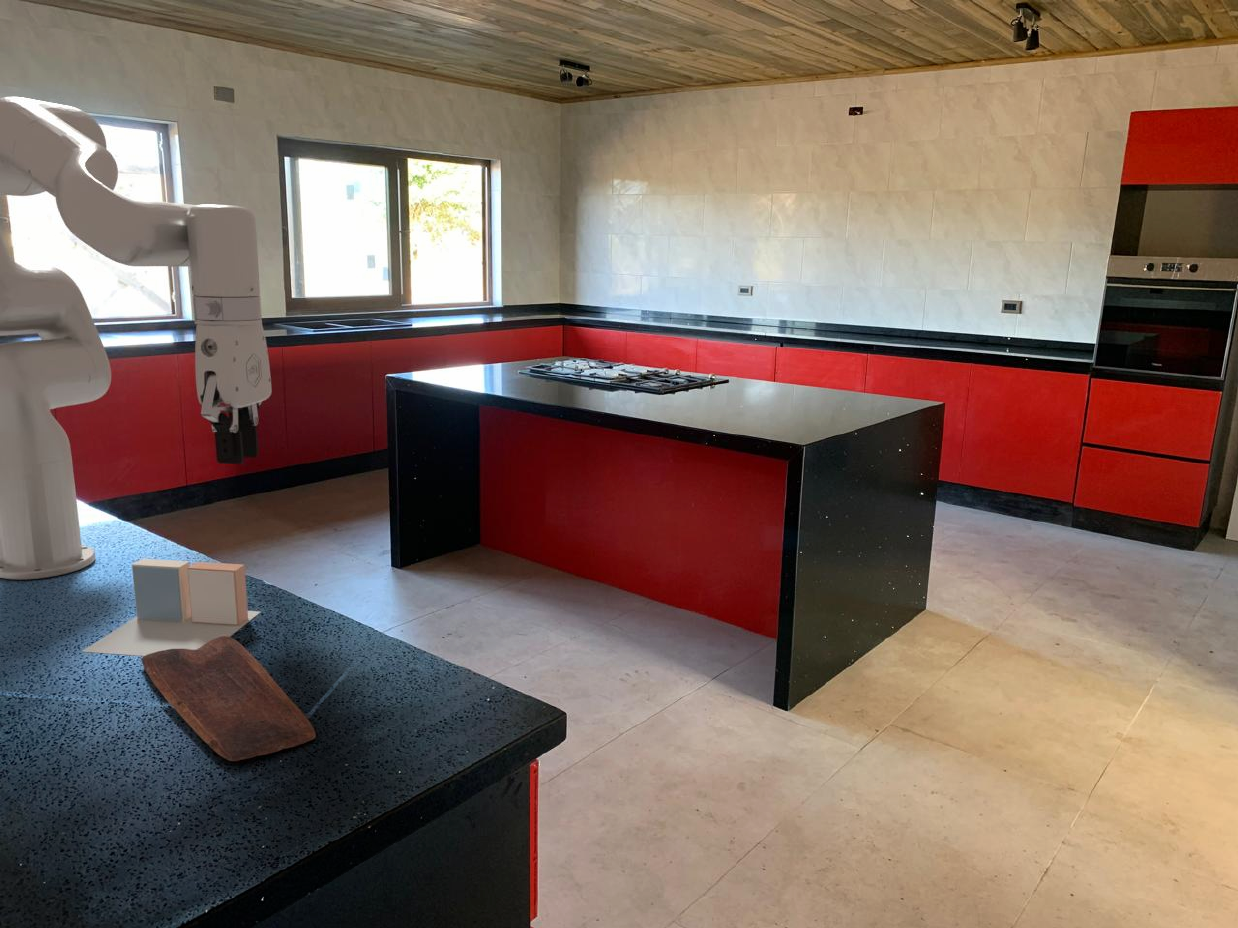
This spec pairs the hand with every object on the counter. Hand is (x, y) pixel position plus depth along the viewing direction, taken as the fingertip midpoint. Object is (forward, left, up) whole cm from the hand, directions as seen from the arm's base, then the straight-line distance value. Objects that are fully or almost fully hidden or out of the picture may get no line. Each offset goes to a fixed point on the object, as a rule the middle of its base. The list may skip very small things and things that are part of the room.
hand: (238, 458), depth 113 cm
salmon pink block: (0, -7, -19) cm, 20 cm away
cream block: (-7, -7, -19) cm, 21 cm away
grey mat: (-4, -10, -19) cm, 22 cm away
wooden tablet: (+10, -25, -19) cm, 34 cm away
